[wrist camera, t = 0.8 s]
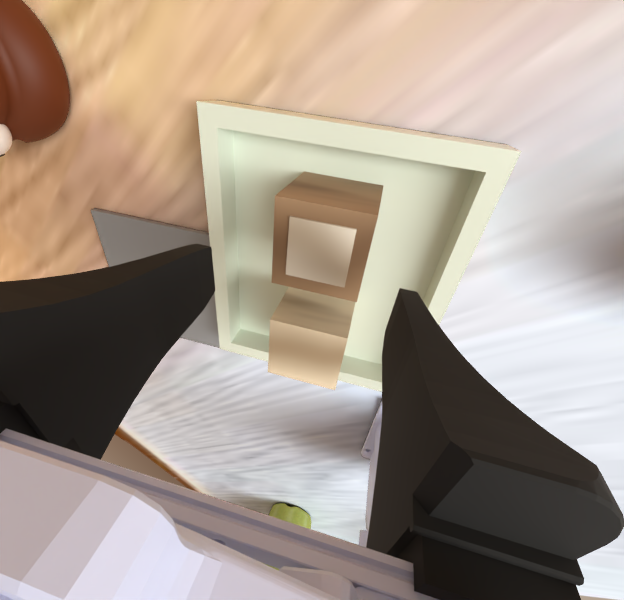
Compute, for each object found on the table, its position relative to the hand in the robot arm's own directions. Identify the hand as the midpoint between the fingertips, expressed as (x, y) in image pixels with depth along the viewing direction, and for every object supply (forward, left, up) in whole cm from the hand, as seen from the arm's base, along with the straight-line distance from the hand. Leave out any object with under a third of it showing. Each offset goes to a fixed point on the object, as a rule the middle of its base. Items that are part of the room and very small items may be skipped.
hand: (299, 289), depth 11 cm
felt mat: (-9, +13, -9) cm, 18 cm away
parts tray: (-4, 0, -9) cm, 9 cm away
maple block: (-7, 0, -8) cm, 11 cm away
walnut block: (0, 0, -8) cm, 8 cm away
